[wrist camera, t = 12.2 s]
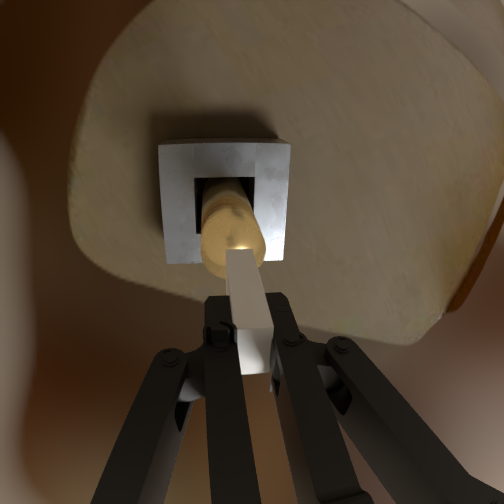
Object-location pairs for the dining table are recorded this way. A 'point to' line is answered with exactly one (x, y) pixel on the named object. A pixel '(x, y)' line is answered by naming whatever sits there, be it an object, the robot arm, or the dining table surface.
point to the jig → (222, 165)
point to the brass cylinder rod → (227, 224)
